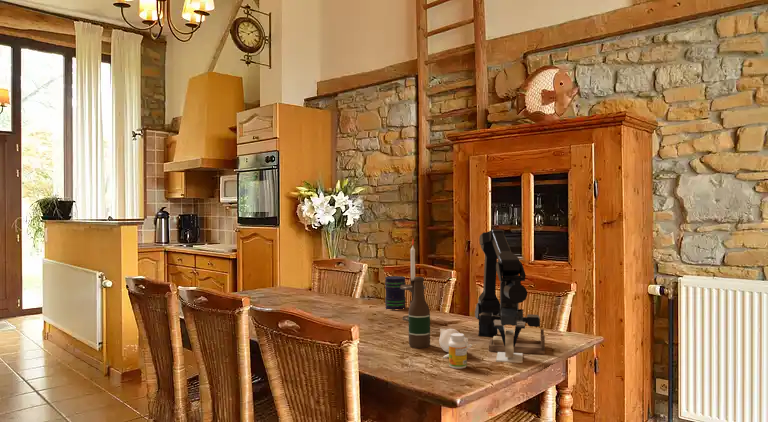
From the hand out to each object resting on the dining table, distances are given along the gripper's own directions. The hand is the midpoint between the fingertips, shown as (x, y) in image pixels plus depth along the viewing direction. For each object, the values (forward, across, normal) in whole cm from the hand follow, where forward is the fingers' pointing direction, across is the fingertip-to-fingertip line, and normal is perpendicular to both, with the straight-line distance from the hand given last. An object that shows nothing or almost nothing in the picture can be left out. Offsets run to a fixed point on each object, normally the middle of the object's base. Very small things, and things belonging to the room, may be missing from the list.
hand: (509, 346), depth 176 cm
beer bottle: (+4, -31, +9) cm, 32 cm away
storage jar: (+4, -55, +76) cm, 94 cm away
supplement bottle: (+4, -15, -13) cm, 20 cm away
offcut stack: (+3, -4, +12) cm, 13 cm away
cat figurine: (+4, -19, 0) cm, 19 cm away
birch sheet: (+2, 0, 0) cm, 3 cm away
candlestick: (+4, -42, +53) cm, 68 cm away
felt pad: (+4, 0, 0) cm, 4 cm away
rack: (+4, +2, +12) cm, 13 cm away
